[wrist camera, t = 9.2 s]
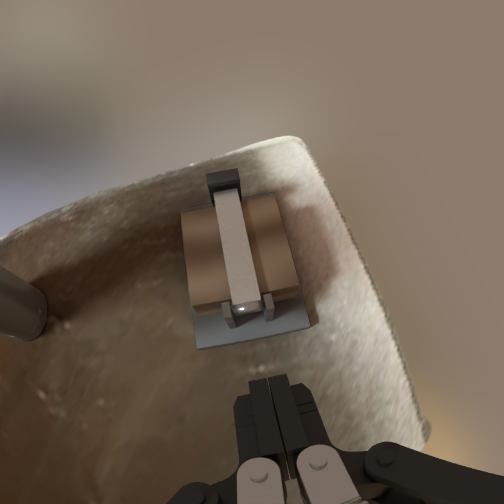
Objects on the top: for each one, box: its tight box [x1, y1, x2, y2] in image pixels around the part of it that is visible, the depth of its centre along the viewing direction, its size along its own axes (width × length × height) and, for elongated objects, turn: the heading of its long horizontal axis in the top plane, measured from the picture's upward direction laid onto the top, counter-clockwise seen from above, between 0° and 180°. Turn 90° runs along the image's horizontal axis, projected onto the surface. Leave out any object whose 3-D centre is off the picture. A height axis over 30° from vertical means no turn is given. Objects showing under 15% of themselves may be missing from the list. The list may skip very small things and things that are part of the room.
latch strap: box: [213, 188, 263, 316], centre depth 35 cm, size 16×3×1 cm, turn 11°
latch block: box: [180, 168, 310, 350], centre depth 37 cm, size 20×14×9 cm
